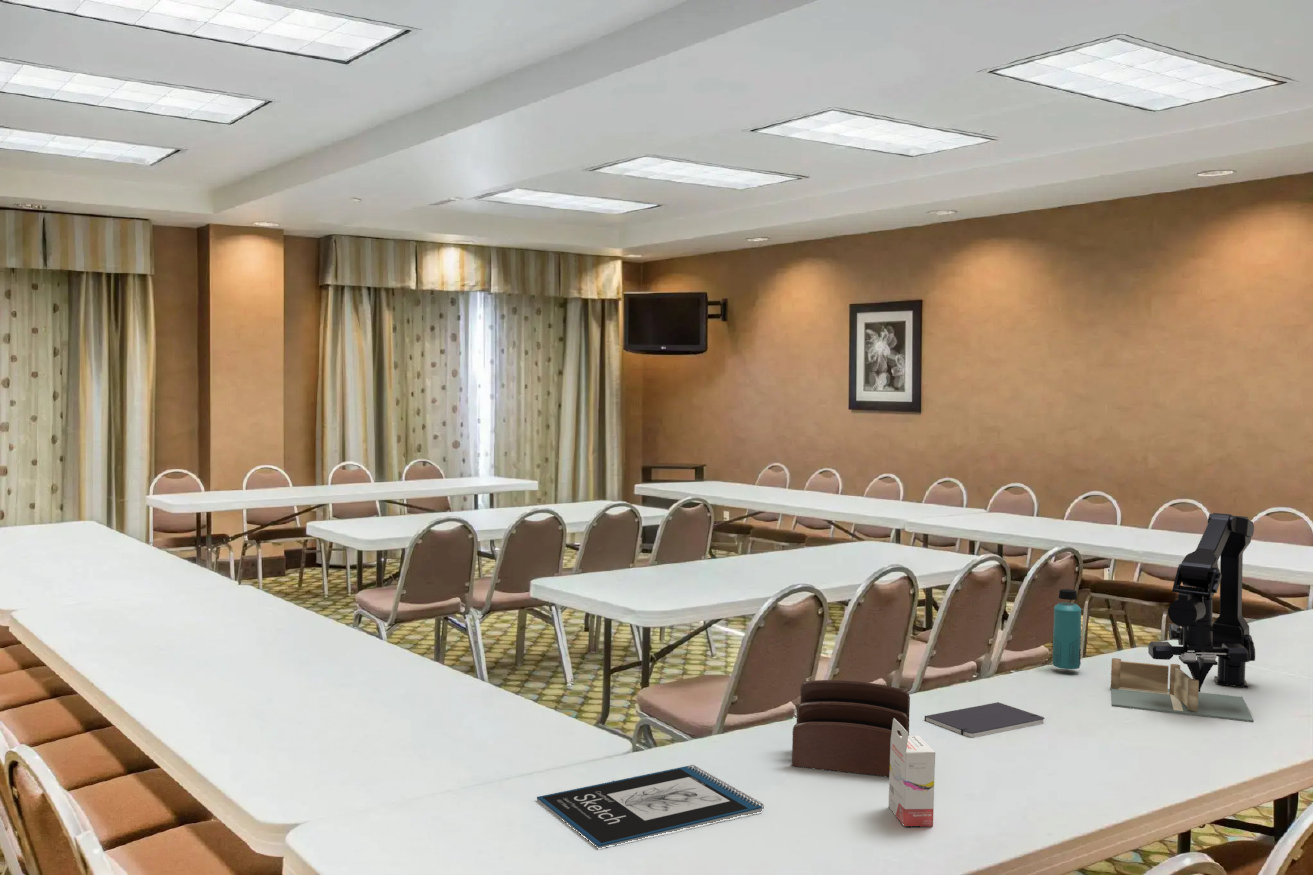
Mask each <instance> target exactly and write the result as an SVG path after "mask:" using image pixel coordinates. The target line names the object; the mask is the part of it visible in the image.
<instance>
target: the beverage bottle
mask: <svg viewBox="0 0 1313 875" xmlns="http://www.w3.org/2000/svg"><path fill="white" fill-rule="evenodd" d="M1058 599H1060V600H1065V601H1066V602H1064V601H1063V602H1062V601H1061V602H1058V603H1057V604H1055V605H1054V607H1053V628H1052V631H1053V632H1052V633H1053V634H1052V642H1051V643H1052V652H1051V654H1052V656H1051V658H1052V659H1051V660H1052V661H1051V662H1052V665H1053V667H1056V668H1059V669H1064V670H1078V669H1080V667H1081V665H1082V663H1081V660H1082V659H1081V657H1082V653H1081V651H1082V608H1081V607H1080V606H1079V605H1078V604H1077V603H1074V602H1067V601H1076V600H1078V593H1077V590H1075V589H1072V588H1071V589H1070V588H1062V589H1059V593H1058Z"/></svg>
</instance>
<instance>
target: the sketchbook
mask: <svg viewBox="0 0 1313 875" xmlns="http://www.w3.org/2000/svg"><path fill="white" fill-rule="evenodd" d="M536 801H537V802H538V803H539V804H541V805H542V806H543V807H544V806H545V808H546V809H547V810H548V811H549V810H550V812H551V813H552V814H553V813H554V814H553V815H554V816H556V815H557V816H558V817H559V818H560V819H559V818H558V817H557V816H556V817H557V818H558V819H559V820H561V819H563V820H564V821H565V822H566V823H568V824H569V825H570V826H571V827H572V828H574V829H575V830H577V831H578V832H580V833H581V834H582V835H583V836H585V837H586V838H587V839H588V840H590V841H591V842H592V843H593V844H594V845H596V847H598V848H602V847H606V846H609V845H617V844H621V843H625V842H628V841H632V840H638V839H642V838H645V837H648V836H654V835H658V834H662V833H666V832H672V831H677V830H680V829H683V828H690V827H695V826H698V825H703V824H707V823H713V822H716V821H720V820H723V819H730V818H733V817H737V816H741V815H748V814H753V813H757V812H761V811H762V809H765V805H764V803H763V802H762V801H759V800H757V799H755V798H754V797H752V796H751V795H748V794H747V793H745V792H743V791H741V790H739V789H738V788H736V787H734V786H733V785H730V783H727V782H726V781H723V780H722V779H720V778H718V777H716V776H715V775H713V774H711V773H709V772H707V771H706V770H704V769H702V768H700V767H698V766H697V765H695V764H689V765H686V766H680V767H676V768H672V769H671V768H670V769H667V770H662V771H656V772H651V773H646V774H642V775H637V776H631V777H627V778H623V779H618V780H613V781H607V782H601V783H598V784H593V785H589V786H583V787H579V788H573V789H569V790H568V789H567V790H564V791H559V792H558V791H557V792H553V793H549V794H545V795H540V796H536ZM762 812H763V811H762ZM565 822H564V823H565ZM566 823H565V824H566ZM570 826H569V827H570ZM571 827H570V828H571ZM572 828H571V829H572ZM575 830H574V831H575ZM596 847H595V848H596Z"/></svg>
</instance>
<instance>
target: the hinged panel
mask: <svg viewBox="0 0 1313 875" xmlns="http://www.w3.org/2000/svg"><path fill="white" fill-rule="evenodd" d="M1198 693H1199V681H1198V680H1195V679H1193V678H1191V677H1190V676H1189V675H1188V674H1187V673H1186V672H1184V670H1182V669H1181V668H1180V669H1178V668H1175V677H1174V695H1175V696H1176V697H1177V698H1178V699H1179V700H1181V701H1182V702H1183V703H1184V704H1185V705H1186V706H1187V709H1188V710H1191V711H1197V710H1198Z"/></svg>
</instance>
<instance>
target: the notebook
mask: <svg viewBox="0 0 1313 875" xmlns="http://www.w3.org/2000/svg"><path fill="white" fill-rule="evenodd" d="M925 720H926V721H925ZM1044 720H1045V717H1044V716H1042V715H1038V714H1035V713H1032V712H1028V711H1026V710H1024V709H1019V708H1017V707H1014V706H1011V705H1007V704H1005V703H1002V702H998V701H997V702H992V703H986V704H982V705H977V706H972V707H971V706H970V707H965V708H960V709H955V710H950V711H944V712H938V713H933V714H927V715H924V721H925V722H928V721H930V722H929V723H931V722H932V723H931V724H933V723H934V725H936V726H938V725H940V726H939V727H941V726H942V727H941V728H943V729H944V728H945V729H946V728H947V730H949V729H950V730H949V731H952V730H953V732H954V731H955V733H958V734H960V735H961V734H962V736H965V737H968V738H978V737H983V736H988V735H991V734H998V733H1003V732H1007V731H1012V730H1016V729H1018V730H1019V729H1023V728H1027V727H1033V726H1036V725H1037V726H1038V725H1042V724H1044ZM963 734H964V735H963Z"/></svg>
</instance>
